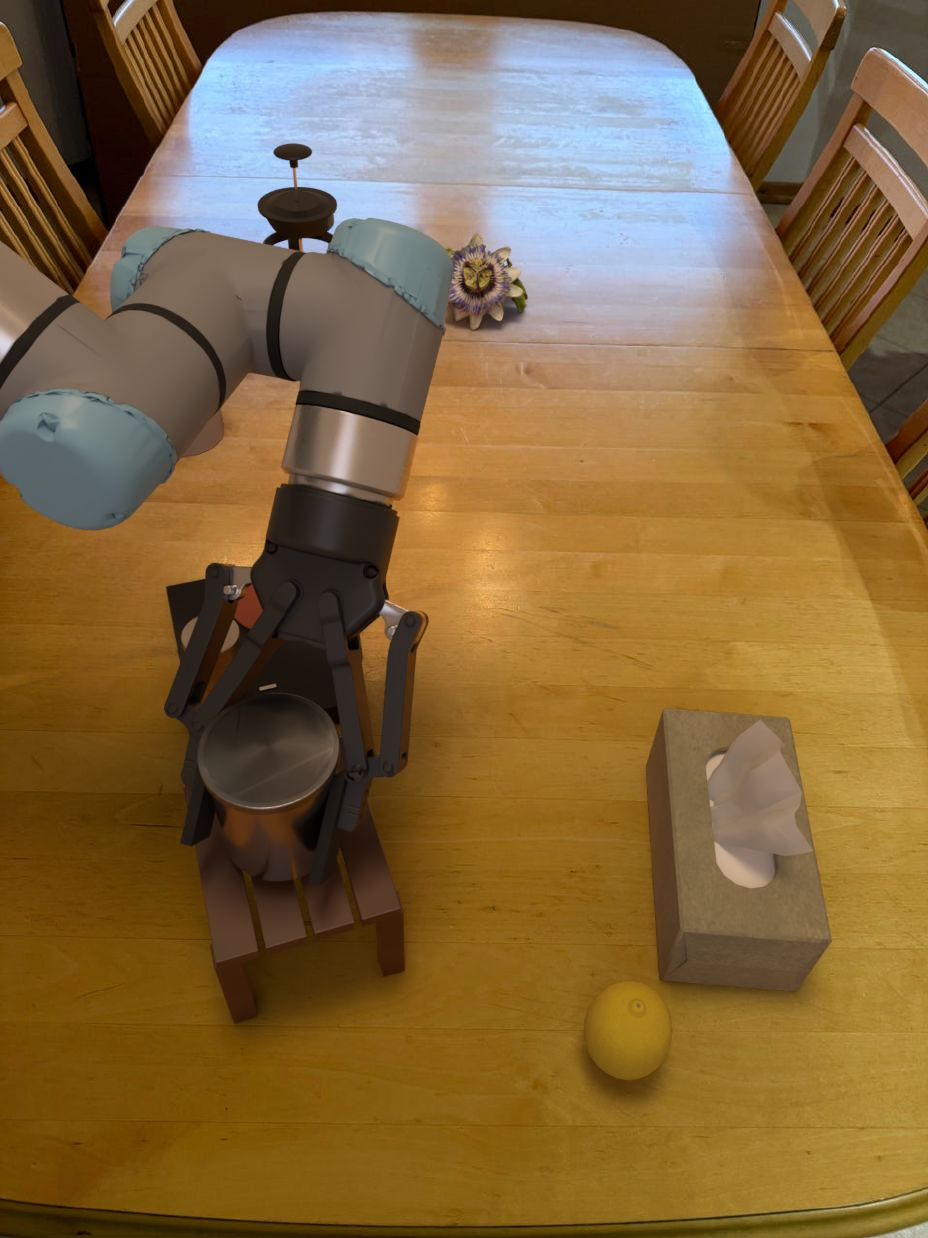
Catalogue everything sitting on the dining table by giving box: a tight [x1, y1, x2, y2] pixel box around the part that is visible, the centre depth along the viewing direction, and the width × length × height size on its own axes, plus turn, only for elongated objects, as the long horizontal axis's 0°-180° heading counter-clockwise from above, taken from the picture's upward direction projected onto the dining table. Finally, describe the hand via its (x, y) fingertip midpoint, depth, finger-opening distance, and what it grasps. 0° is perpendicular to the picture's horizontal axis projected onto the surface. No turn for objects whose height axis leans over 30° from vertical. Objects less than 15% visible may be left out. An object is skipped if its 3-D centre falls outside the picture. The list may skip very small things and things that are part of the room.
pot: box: [197, 693, 341, 881], centre depth 61 cm, size 8×8×9 cm
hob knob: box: [181, 617, 252, 704], centre depth 79 cm, size 4×4×8 cm
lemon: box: [583, 980, 673, 1081], centre depth 63 cm, size 6×6×8 cm
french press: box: [257, 142, 338, 252], centre depth 116 cm, size 12×9×23 cm
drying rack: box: [182, 736, 406, 1024], centre depth 69 cm, size 14×12×10 cm
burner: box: [234, 585, 263, 630], centre depth 90 cm, size 9×9×1 cm
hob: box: [165, 578, 340, 725], centre depth 87 cm, size 19×15×3 cm
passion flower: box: [445, 232, 529, 331], centre depth 127 cm, size 11×11×12 cm
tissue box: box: [645, 707, 833, 993], centre depth 70 cm, size 19×10×16 cm, turn 176°
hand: (257, 858), depth 60 cm, fingers closed on pot, 8 cm apart
